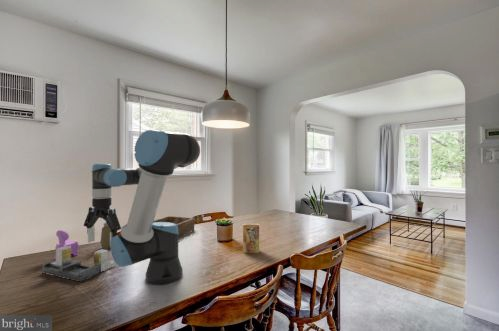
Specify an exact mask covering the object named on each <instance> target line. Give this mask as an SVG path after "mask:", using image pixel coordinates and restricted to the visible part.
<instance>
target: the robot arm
mask: <svg viewBox="0 0 499 331" xmlns="http://www.w3.org/2000/svg"><path fill="white" fill-rule="evenodd" d="M200 154H201V145H200V144H199V141H198V140H197V139H196V137H194V136H192V135H191V134H189V133H185V132H176V131H175V132H173V131H167V130H162V129H148V130H145V131H143V132H142V133H141V134H139V136H138V138H137V139H136V142H135V145H134V158H135V162H137V163H138V167H135V168H112V164H110V163H94V164H93V165H92V169H91V174H92V175H91V177H92V178H91V182H92V183H91V186H92V187H91V188H92V190H91V197H92V201H91V203H92V204H91V206H90V207H88V212H87V215H86V218H85V220H84V222H83V227H86V229H87V233H86V234H87V243H92V242H95V238H96V237H95V234H96V233H95V230H96V229H95V224H96V223H97V221H98V220H99V219H103V220H104V221H105V223H107V224H108V226H109V228H110V229H111V231H110V248H111V249H110V254H111V256H112V259H113V262H115V263H116V266H118V267H122V268H125V267H128V266H132V265H135V264H137V263H140V262H143V261H146V260H149V263H148V264H147V268H146V271H145V281H146V283H148V284H149V285H156V286H157V285H158V286H160V285H162V286H163V285H167V284H171V283H173V282H176V281H178V280H179V279H181V278H182V277H183V272H184V271H183V266H182V265H181V264H182V262H181V260H180V257H179V238H178V234H179V233H178V226H177V225H176V224H174V223H169V222H155V223H153V221H154V220H155V217H156V215H157V210H158V208H159V205H160V200H161V198H162V194H163V191H164V189H165V188H164V187H165V186H166V185H165V184H166V183H167V182H166V181H167V178H168V177H169V176H172V175H173V174H174V171H175V170H176V169H178V168H185V167H188V166H190V165H192V164H194V163H195V162H196V161H198V160H199V158H200ZM132 185H134V186H135V185H137V187H136V190H135V195H134V197H133V201H132V206H131V208H130V213H129V217H128V220H127V222H126V224H124V225H123V226H121V224H120V221H119V218H118V216H117V211H116V208H111V207H110V206H112V188H115V187H117V188H118V187H121V186H132ZM113 228H114V229H113ZM118 231H120V232H119V235H118Z"/></svg>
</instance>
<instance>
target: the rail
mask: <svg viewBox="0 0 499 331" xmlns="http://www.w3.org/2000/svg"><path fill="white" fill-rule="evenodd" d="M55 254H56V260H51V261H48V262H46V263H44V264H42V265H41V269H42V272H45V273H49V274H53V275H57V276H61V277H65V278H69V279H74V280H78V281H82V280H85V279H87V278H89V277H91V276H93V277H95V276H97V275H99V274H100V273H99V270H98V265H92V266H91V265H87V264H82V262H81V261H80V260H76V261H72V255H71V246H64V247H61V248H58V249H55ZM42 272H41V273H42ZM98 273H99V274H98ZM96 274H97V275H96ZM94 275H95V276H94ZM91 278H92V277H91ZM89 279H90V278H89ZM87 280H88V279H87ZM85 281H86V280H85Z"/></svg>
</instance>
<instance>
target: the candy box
mask: <svg viewBox="0 0 499 331" xmlns="http://www.w3.org/2000/svg"><path fill="white" fill-rule="evenodd" d="M242 232H243V233H242V235H243V236H242V237H243V238H242V241H243V243H242V244H243V245H242V250H243V254H248V253H250V254H252V253H253V254H258V253H260V224H259V223H243V225H242Z"/></svg>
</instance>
